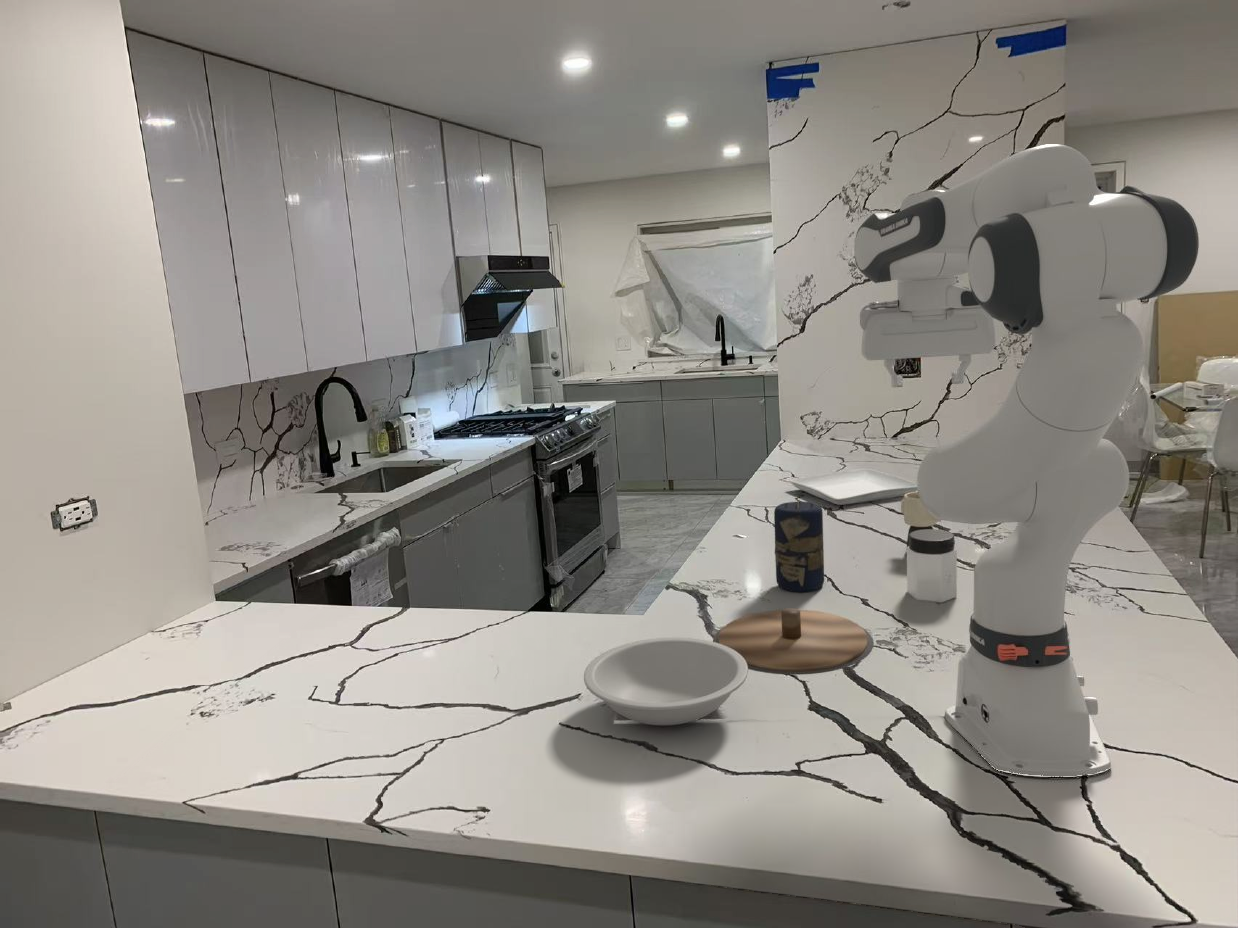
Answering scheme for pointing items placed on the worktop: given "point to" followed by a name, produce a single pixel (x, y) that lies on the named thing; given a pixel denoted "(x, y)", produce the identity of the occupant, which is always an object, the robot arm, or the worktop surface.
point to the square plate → (855, 486)
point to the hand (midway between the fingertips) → (927, 385)
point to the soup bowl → (666, 679)
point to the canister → (799, 546)
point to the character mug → (916, 514)
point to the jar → (932, 565)
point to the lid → (794, 639)
